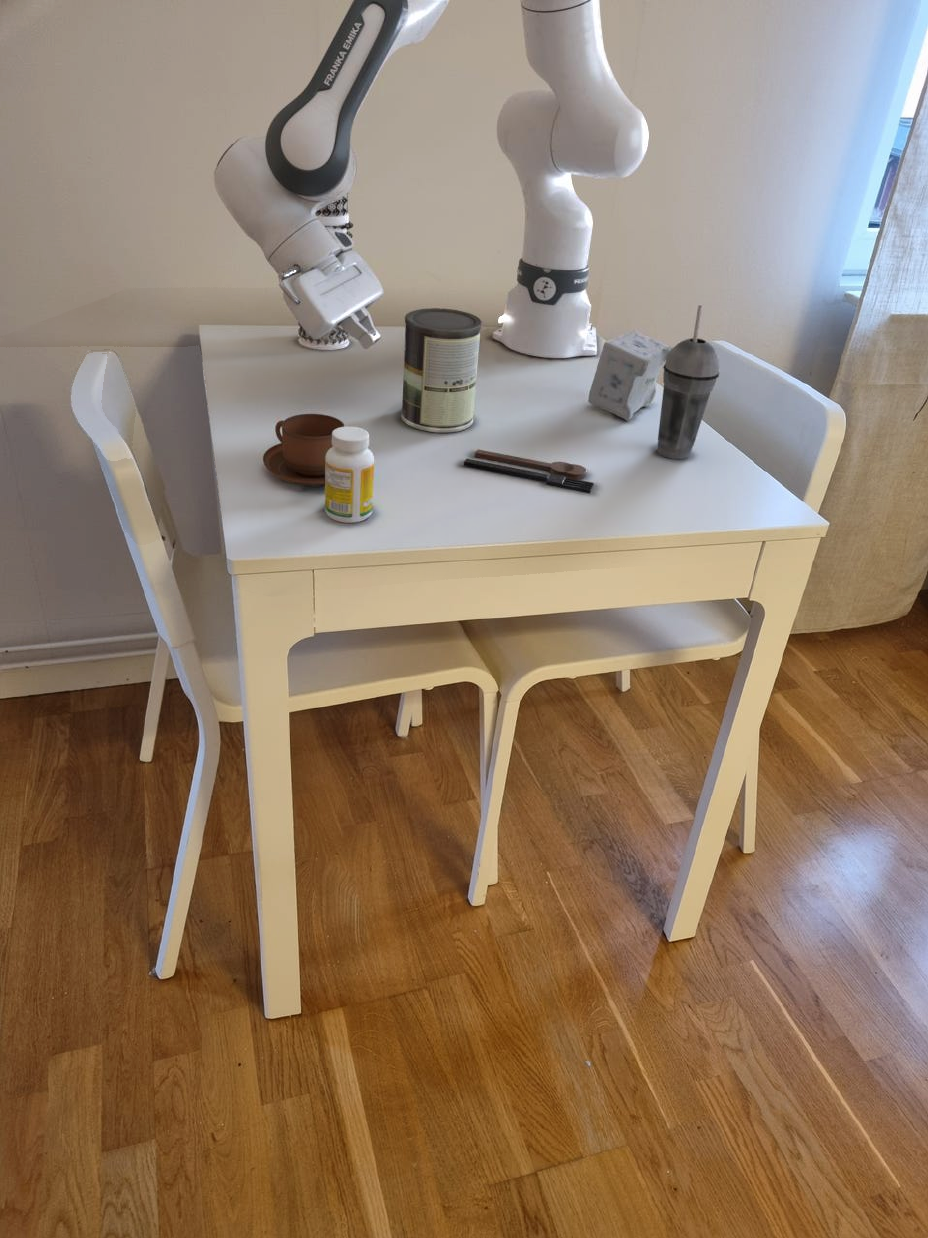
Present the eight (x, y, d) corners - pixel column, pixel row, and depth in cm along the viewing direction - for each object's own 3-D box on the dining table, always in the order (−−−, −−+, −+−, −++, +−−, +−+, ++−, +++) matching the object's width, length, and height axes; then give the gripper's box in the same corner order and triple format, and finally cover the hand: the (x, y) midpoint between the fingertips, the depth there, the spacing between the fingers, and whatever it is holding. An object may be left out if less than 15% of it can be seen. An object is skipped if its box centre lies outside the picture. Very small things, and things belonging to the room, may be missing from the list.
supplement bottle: (332, 526, 103) (332, 444, 97) (319, 505, 107) (319, 425, 101) (379, 521, 105) (381, 440, 99) (364, 500, 109) (366, 422, 103)
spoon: (479, 450, 123) (479, 445, 123) (588, 471, 120) (588, 466, 120) (472, 459, 121) (473, 454, 120) (583, 481, 118) (584, 476, 118)
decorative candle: (339, 354, 152) (339, 187, 138) (287, 345, 154) (282, 180, 140) (359, 339, 160) (362, 180, 146) (309, 330, 161) (307, 172, 148)
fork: (467, 460, 120) (467, 456, 120) (593, 485, 117) (594, 481, 117) (461, 467, 118) (462, 463, 118) (589, 493, 115) (590, 488, 115)
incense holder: (634, 424, 136) (647, 353, 130) (584, 409, 140) (595, 339, 134) (662, 407, 143) (676, 339, 137) (614, 393, 147) (625, 326, 141)
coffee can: (387, 421, 129) (390, 319, 122) (423, 400, 137) (429, 303, 130) (452, 439, 126) (459, 335, 118) (485, 417, 134) (495, 318, 126)
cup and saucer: (246, 483, 110) (243, 433, 107) (288, 446, 120) (287, 400, 116) (341, 502, 108) (341, 452, 104) (376, 463, 118) (378, 416, 114)
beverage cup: (710, 455, 128) (745, 307, 118) (681, 467, 124) (714, 315, 113) (666, 437, 132) (696, 293, 122) (636, 449, 128) (665, 301, 117)
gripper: (288, 259, 115) (360, 350, 118) (352, 231, 132) (414, 312, 135) (257, 290, 118) (328, 378, 122) (323, 260, 135) (384, 338, 138)
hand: (374, 343), depth 129 cm, fingers closed
